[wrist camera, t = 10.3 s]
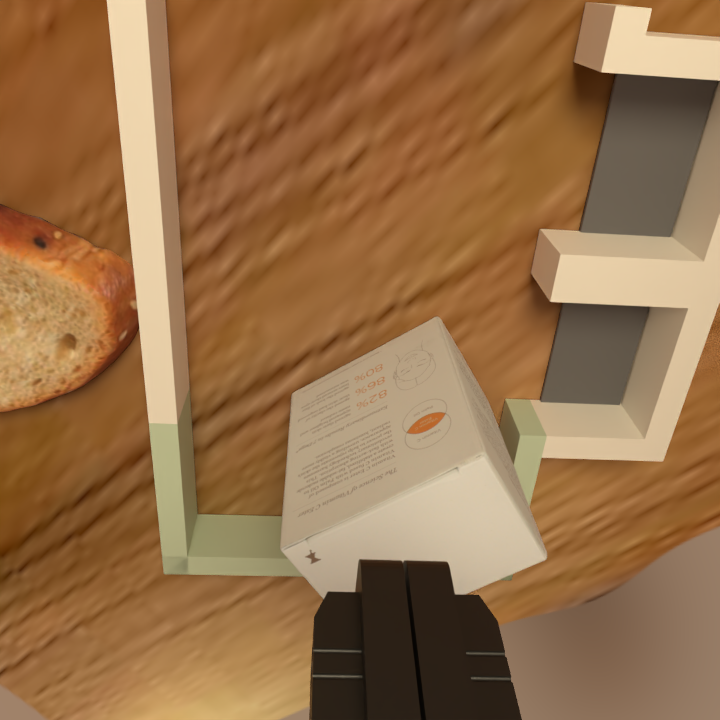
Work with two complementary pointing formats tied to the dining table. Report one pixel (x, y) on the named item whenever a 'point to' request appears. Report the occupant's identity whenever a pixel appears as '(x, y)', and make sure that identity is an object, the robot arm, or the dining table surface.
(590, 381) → the channel
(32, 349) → the bread slice
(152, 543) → the dining table surface
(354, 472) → the small box
